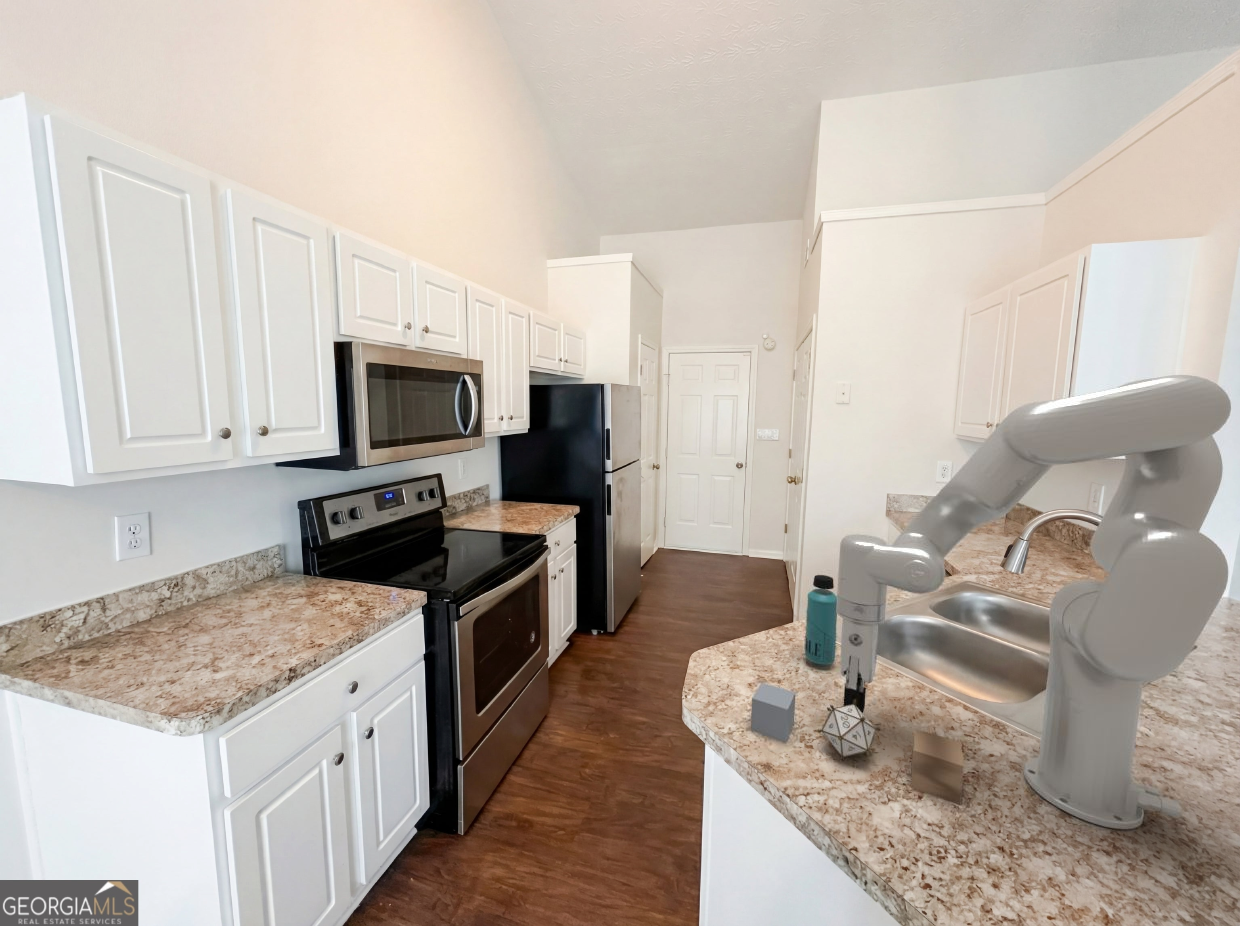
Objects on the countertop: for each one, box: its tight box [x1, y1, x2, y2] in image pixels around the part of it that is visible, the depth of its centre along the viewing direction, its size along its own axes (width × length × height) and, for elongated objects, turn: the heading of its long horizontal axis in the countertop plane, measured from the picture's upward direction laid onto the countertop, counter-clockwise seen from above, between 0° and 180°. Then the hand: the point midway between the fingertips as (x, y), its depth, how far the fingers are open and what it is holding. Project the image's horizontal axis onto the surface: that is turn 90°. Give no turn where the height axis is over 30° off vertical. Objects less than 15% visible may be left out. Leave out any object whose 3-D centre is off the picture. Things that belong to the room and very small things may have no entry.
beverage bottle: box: [803, 574, 838, 665], centre depth 106 cm, size 6×7×20 cm
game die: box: [816, 699, 882, 763], centre depth 78 cm, size 9×8×10 cm
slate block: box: [750, 681, 796, 744], centre depth 85 cm, size 6×6×6 cm
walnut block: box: [910, 727, 965, 806], centre depth 72 cm, size 6×6×6 cm
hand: (853, 708), depth 85 cm, fingers closed
